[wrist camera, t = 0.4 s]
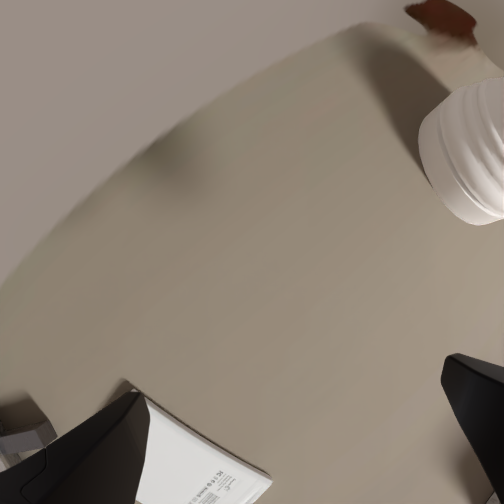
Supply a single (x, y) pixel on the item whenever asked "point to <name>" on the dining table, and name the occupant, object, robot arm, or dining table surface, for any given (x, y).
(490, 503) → the coffee box
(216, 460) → the external hard drive
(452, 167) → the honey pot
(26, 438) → the grey door handle
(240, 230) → the dining table surface
